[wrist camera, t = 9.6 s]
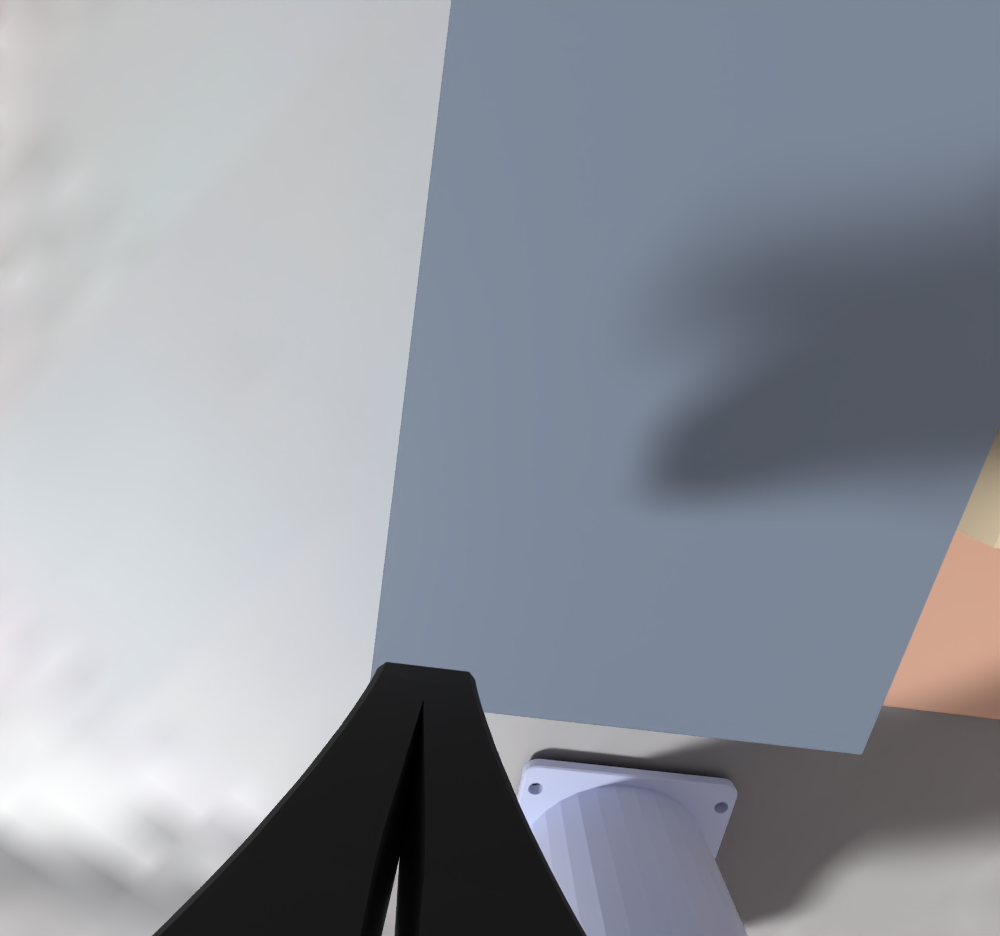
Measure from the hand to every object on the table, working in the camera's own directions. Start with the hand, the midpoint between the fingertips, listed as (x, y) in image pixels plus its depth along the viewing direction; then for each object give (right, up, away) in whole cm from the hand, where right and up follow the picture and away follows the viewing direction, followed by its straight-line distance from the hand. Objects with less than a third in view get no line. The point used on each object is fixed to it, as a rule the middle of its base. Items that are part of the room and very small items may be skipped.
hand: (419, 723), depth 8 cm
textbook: (+6, +6, +8) cm, 12 cm away
